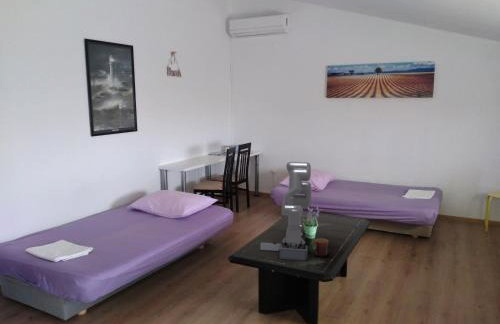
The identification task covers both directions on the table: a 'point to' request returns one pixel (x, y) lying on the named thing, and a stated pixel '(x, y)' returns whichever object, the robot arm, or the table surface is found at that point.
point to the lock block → (293, 246)
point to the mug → (320, 247)
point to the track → (268, 250)
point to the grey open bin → (293, 253)
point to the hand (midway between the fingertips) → (293, 252)
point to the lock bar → (270, 246)
